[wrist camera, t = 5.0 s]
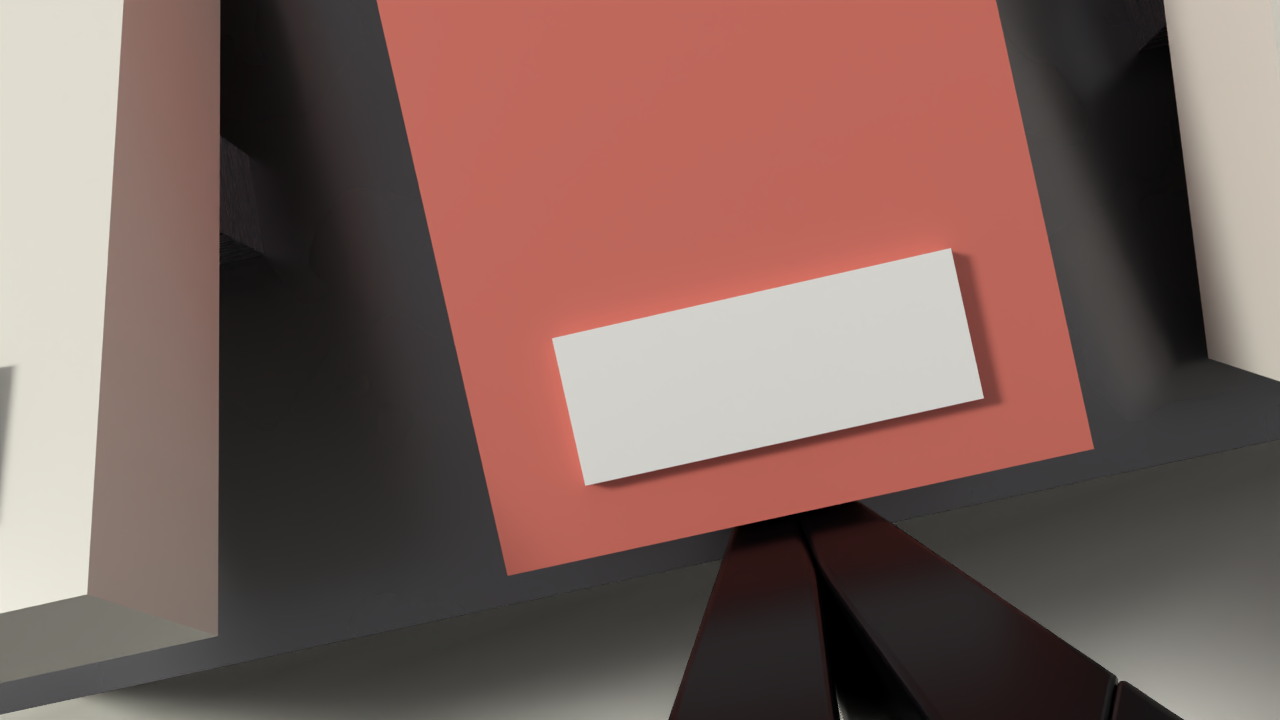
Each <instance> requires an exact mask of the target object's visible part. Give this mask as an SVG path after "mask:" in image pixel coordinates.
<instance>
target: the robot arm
mask: <svg viewBox="0 0 1280 720" xmlns="http://www.w3.org/2000/svg"><path fill="white" fill-rule="evenodd" d="M838 704H839V707H840V710H841V713H842V716H843V718H844V720H1184V719H1182V718H1180V717H1179V716H1177V715H1176V714H1174V713H1173V712H1171V711H1170V710H1168V709H1166V708H1165V707H1164V706H1162V705H1161V704H1159V703H1158V702H1156V701H1155V700H1153V699H1152V698H1150V697H1149V696H1147V695H1146V694H1144V693H1143V692H1141V691H1140V690H1138V689H1137V688H1136V687H1134V686H1133V685H1131V684H1130V683H1128V682H1126V681H1121V682H1119V683H1118V679H1117V677H1116V676H1115V675H1114V674H1112V673H1111V672H1109V671H1108V670H1107V669H1105V668H1104V667H1102V666H1101V665H1099V664H1098V663H1096V662H1095V661H1093V660H1092V659H1090V658H1089V657H1087V656H1086V655H1084V654H1083V653H1082V652H1080V651H1079V650H1077V649H1076V648H1074V647H1073V646H1071V645H1070V644H1068V643H1067V642H1065V641H1064V640H1062V639H1061V638H1060V637H1058V636H1057V635H1055V634H1054V633H1052V632H1051V631H1049V630H1048V629H1046V628H1045V627H1043V626H1042V625H1040V624H1039V623H1037V622H1036V621H1035V620H1033V619H1032V618H1030V617H1029V616H1027V615H1026V614H1024V613H1023V612H1021V611H1020V610H1018V609H1017V608H1015V607H1014V606H1013V605H1011V604H1010V603H1008V602H1007V601H1005V600H1004V599H1002V598H1001V597H999V596H998V595H996V594H995V593H993V592H992V591H990V590H989V589H988V588H986V587H985V586H983V585H982V584H980V583H979V582H977V581H976V580H974V579H973V578H971V577H970V576H968V575H967V574H966V573H964V572H963V571H961V570H960V569H958V568H957V567H955V566H954V565H952V564H951V563H949V562H948V561H946V560H945V559H943V558H942V557H941V556H939V555H938V554H936V553H935V552H933V551H932V550H930V549H929V548H927V547H926V546H924V545H923V544H921V543H920V542H918V541H917V540H916V539H914V538H913V537H911V536H910V535H908V534H907V533H905V532H904V531H902V530H901V529H899V528H898V527H896V526H895V525H894V524H892V523H891V522H889V521H888V520H886V519H885V518H883V517H882V516H880V515H879V514H877V513H876V512H874V511H873V510H871V509H870V508H869V507H867V506H866V505H864V504H863V503H861V502H860V501H858V500H856V501H851V502H847V503H842V504H837V505H833V506H828V507H823V508H819V509H814V510H810V511H805V512H800V513H796V514H791V515H787V516H782V517H777V518H773V519H768V520H763V521H759V522H754V523H750V524H745V525H740V526H736V527H733V530H732V533H731V536H730V539H729V542H728V544H727V547H726V550H725V553H724V556H723V559H722V562H721V565H720V568H719V571H718V574H717V577H716V580H715V583H714V586H713V589H712V592H711V595H710V598H709V601H708V604H707V607H706V610H705V613H704V616H703V619H702V622H701V624H700V627H699V630H698V633H697V636H696V639H695V642H694V645H693V648H692V651H691V654H690V657H689V660H688V663H687V666H686V669H685V672H684V675H683V678H682V681H681V684H680V687H679V690H678V693H677V696H676V699H675V702H674V705H673V707H672V710H671V713H670V716H669V719H668V720H840V715H839V708H838Z"/></svg>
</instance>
